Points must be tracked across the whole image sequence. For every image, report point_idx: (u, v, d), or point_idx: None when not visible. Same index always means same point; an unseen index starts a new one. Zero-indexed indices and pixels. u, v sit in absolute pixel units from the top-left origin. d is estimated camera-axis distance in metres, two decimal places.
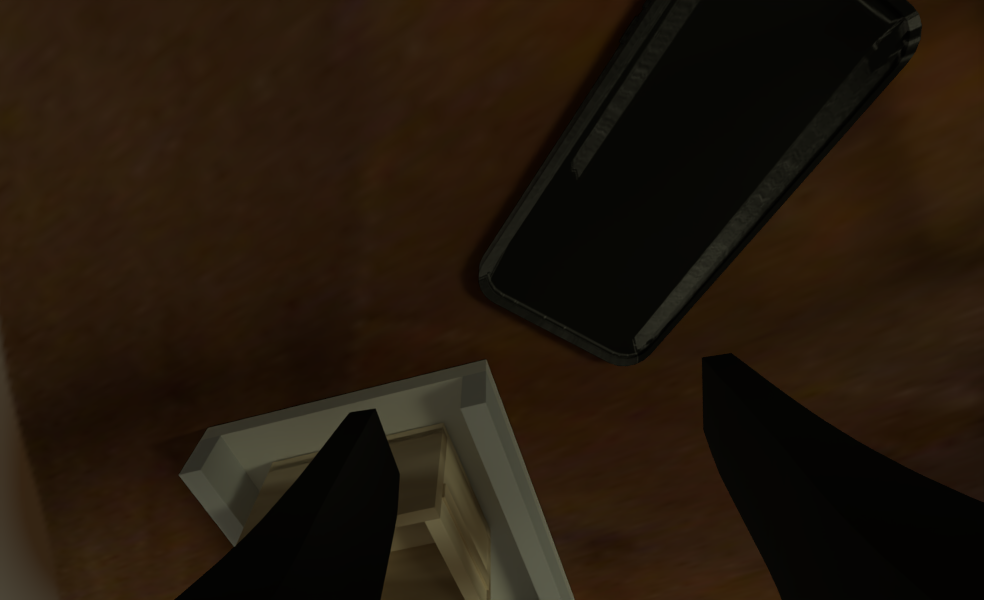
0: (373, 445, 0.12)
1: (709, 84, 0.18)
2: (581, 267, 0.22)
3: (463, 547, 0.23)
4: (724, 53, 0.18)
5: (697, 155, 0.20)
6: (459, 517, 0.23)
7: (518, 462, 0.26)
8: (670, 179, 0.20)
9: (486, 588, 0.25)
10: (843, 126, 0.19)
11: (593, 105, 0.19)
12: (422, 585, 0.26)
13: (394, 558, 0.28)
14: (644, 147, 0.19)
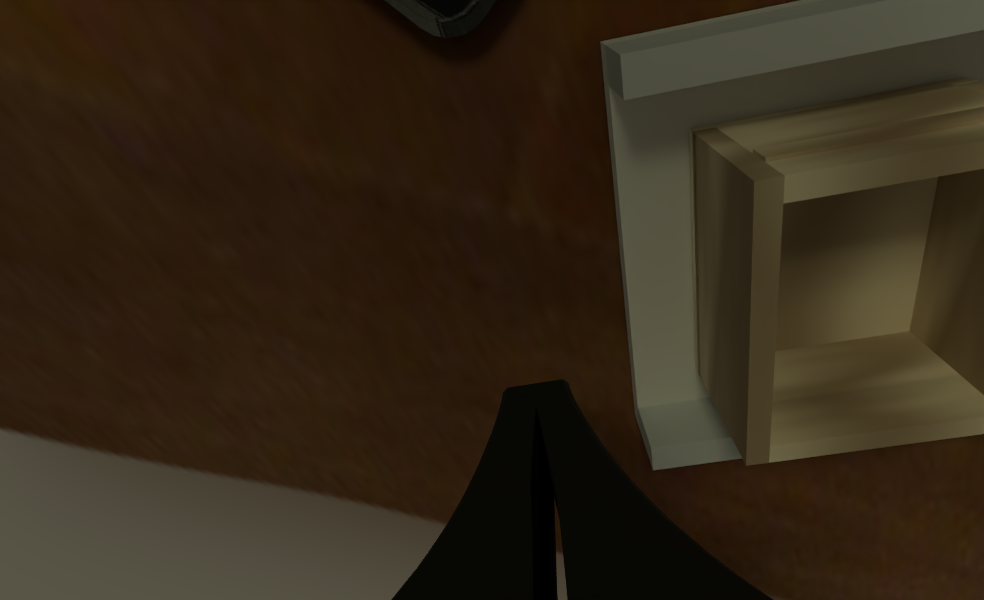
0: None
1: None
2: None
3: (902, 141, 0.12)
4: None
5: None
6: (838, 136, 0.13)
7: (812, 4, 0.14)
8: None
9: None
10: None
11: None
12: None
13: (934, 255, 0.16)
14: None
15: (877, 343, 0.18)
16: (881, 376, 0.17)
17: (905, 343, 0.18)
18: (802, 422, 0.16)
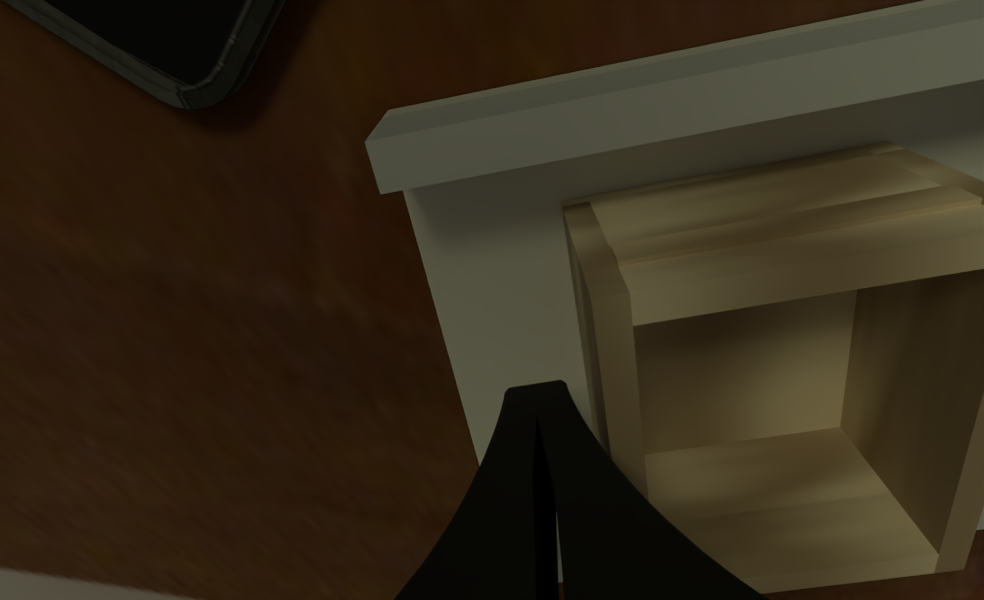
0: None
1: None
2: None
3: (786, 243, 0.09)
4: None
5: None
6: (713, 231, 0.10)
7: (621, 72, 0.11)
8: None
9: (972, 203, 0.09)
10: None
11: None
12: (918, 330, 0.11)
13: (861, 348, 0.14)
14: None
15: (802, 443, 0.15)
16: (800, 491, 0.14)
17: (833, 444, 0.15)
18: None
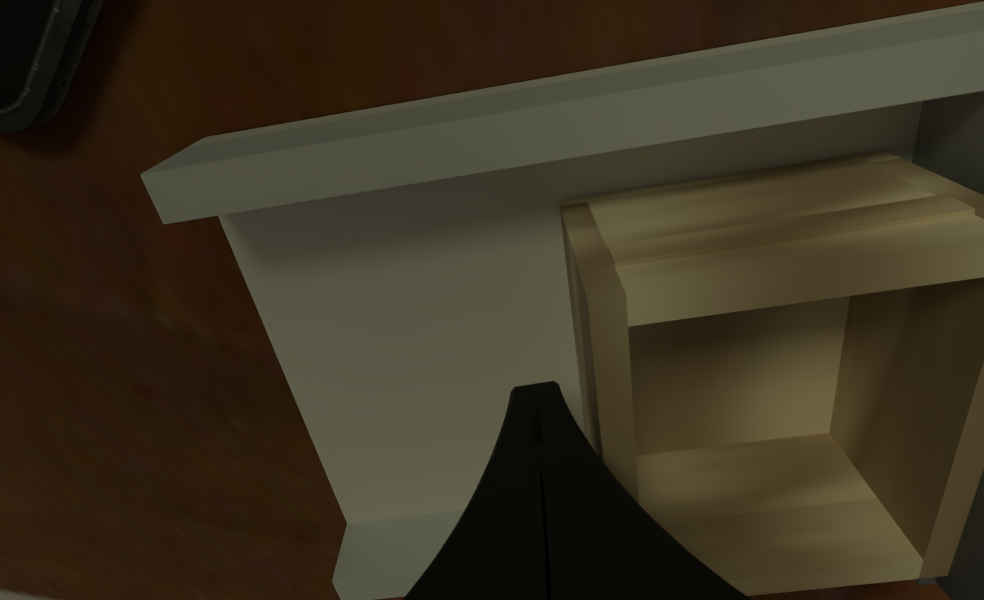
0: None
1: None
2: None
3: (782, 249, 0.09)
4: None
5: None
6: (710, 235, 0.10)
7: (410, 110, 0.12)
8: None
9: (966, 213, 0.09)
10: None
11: None
12: (909, 338, 0.12)
13: (852, 354, 0.14)
14: None
15: (791, 447, 0.15)
16: (788, 495, 0.14)
17: (822, 449, 0.15)
18: None
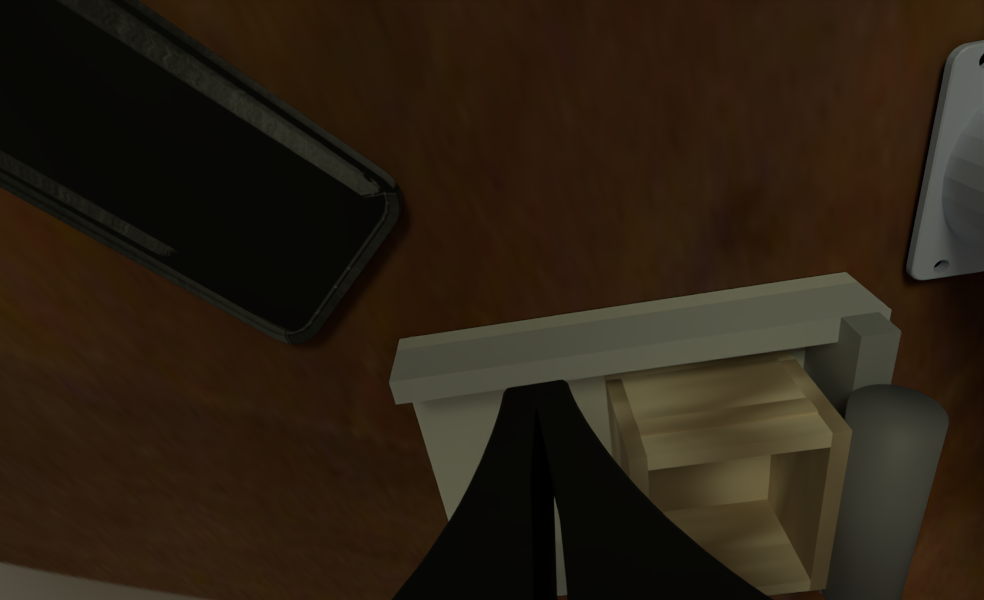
0: None
1: (56, 126, 0.18)
2: (273, 249, 0.20)
3: (723, 430, 0.19)
4: (23, 113, 0.18)
5: (131, 134, 0.18)
6: (688, 418, 0.20)
7: (525, 336, 0.22)
8: (161, 161, 0.19)
9: (813, 413, 0.19)
10: None
11: (102, 235, 0.20)
12: (798, 460, 0.21)
13: (775, 458, 0.24)
14: (132, 188, 0.19)
15: (743, 509, 0.25)
16: (739, 540, 0.24)
17: (762, 511, 0.25)
18: None
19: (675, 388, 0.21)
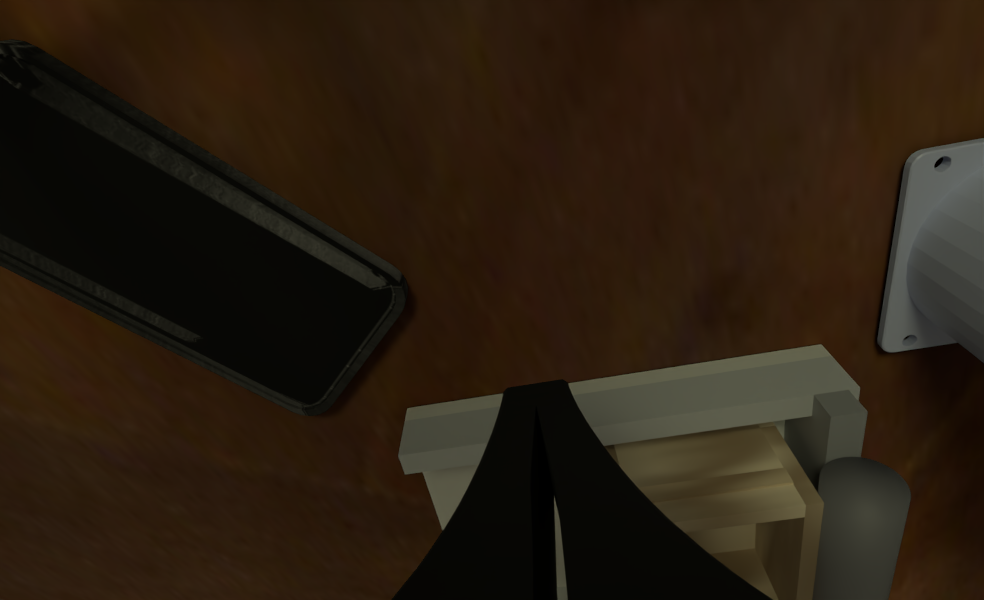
0: None
1: (94, 236, 0.20)
2: (290, 335, 0.22)
3: (706, 500, 0.21)
4: (65, 225, 0.20)
5: (161, 240, 0.20)
6: (674, 487, 0.21)
7: None
8: (188, 263, 0.21)
9: (789, 484, 0.21)
10: (99, 103, 0.18)
11: (134, 326, 0.22)
12: (779, 521, 0.23)
13: None
14: (162, 286, 0.21)
15: (732, 558, 0.27)
16: None
17: (749, 560, 0.26)
18: None
19: (663, 455, 0.23)
